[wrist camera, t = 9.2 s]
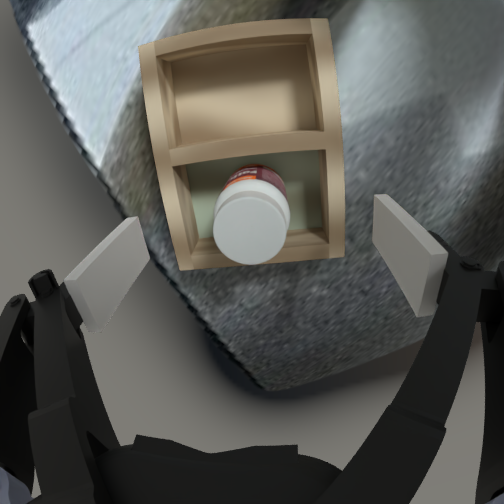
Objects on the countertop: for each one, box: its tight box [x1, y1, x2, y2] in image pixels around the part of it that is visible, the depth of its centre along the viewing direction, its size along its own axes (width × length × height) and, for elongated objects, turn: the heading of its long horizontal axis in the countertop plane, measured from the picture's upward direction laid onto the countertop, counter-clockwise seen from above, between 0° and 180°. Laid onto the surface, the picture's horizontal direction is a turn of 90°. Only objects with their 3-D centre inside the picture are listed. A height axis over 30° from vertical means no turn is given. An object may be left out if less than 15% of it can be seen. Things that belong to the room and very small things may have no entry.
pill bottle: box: [213, 163, 290, 265], centre depth 19 cm, size 5×5×8 cm
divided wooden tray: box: [138, 18, 345, 271], centre depth 20 cm, size 18×13×4 cm
